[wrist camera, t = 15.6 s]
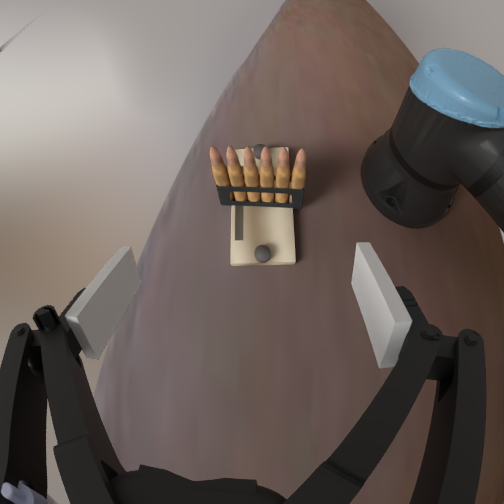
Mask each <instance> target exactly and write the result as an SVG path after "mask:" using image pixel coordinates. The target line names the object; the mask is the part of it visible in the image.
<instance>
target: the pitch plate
mask: <svg viewBox="0 0 504 504" xmlns="http://www.w3.org/2000/svg"><path fill="white" fill-rule="evenodd" d="M264 147H265V145H263V144H258V145H256V146H255V147H254V148H253V149H252V151H253V153H254V156H255V161H256V165H257V167H258V173H259V169H260V162H261V159H260V158H261V153H262V150H263V148H264ZM282 148H283V147H281V148H268V149H269V150H270V153H271V157H272V164H273V168H274V175H276V168H277V163H278V157H279V153H280V151H281V149H282ZM285 148H286V149H287V151H288V147H285ZM244 150H245V149H238V150H235V151H236V153H237V155H238V159H239V162H240V165H241V166H242V169H244ZM288 154H289V153H288ZM243 174H244V170H243ZM259 175H260V173H259ZM244 180H245V179H244ZM259 182H260V180H259ZM275 182H276V180H274V188H275ZM245 185H246V183H245ZM290 186H291V182H290V185H289V189H290ZM260 187H261V186H260ZM295 262H296V260H295V240H294V222H293V208H280V207H259V206H233V205H232V209H231V265H232V266H249V265H284V264H295Z"/></svg>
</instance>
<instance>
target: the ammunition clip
mask: <svg viewBox="0 0 504 504" xmlns="http://www.w3.org/2000/svg"><path fill="white" fill-rule="evenodd" d="M210 159H211V163H212V171H213V174H214V177H215V180H216V183H217V185H216V187H217V191H218V195H219V199H220V203H221V205H233V206H259V207H280V208H299V209H302V206H303V195H304V186H305V181H306V175H307V170H306V163H307V156H306V152H305V150H304V148H302V149H300V150H299V152H298V154H297V156H296V160H295V165H294V168H293V170H292V176H290V173H291V171H290V164H289V154H288V151H287V149H286V148H285V147H283V148H282V149H281V151H280V153H279V157H278V163H277V168H276V175H274V168H273V164H272V157H271V153H270V150H269V149H268V147H266V146H265V147H264V148H263V150H262V153H261V158H260V159H261V162H260V169H259V173H260V175H259V173H258V167H257V165H256V161H255V156H254V153H253V151H252V149H251V148H250V147H249V146H247V147H246V148H245V150H244V169H242V166H241V165H240V162H239V159H238V155H237V153H236V151H235V150H234V148H233V147H232V146H229V147H228V149H227V162H228V171H227V167H226V166H225V164H224V162H223V160H222V157H221V155H220V153H219V151H218V150H217V148H216V147H214V146H211V148H210ZM243 170H244V174H243ZM244 179H245V180H244ZM259 180H260V182H259ZM274 180H276V182H275V188H274ZM290 182H291V186H290V189H289V185H290ZM245 183H246V185H245ZM260 186H261V187H260Z"/></svg>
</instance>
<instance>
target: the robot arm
mask: <svg viewBox="0 0 504 504" xmlns="http://www.w3.org/2000/svg"><path fill="white" fill-rule="evenodd" d="M361 178H362V183H363V186H364V189H365V191H366V194H367V195H368V197H369V199H370V200H371V202H372V203H373V205H374V206H375V207H376V208H377V209H378V210H379V211H380V212H381V213H382V214H383V215H384V216H386V217H387V218H388V219H390V220H391V221H393V222H395V223H397V224H399V225H402V226H405V227H409V228H425V227H429V226H431V225H433V224H435V223H436V222H437V221H439V220H440V219H441V218H442V217H443V216H444V215H445V214H446V213H447V212H448V210H449V209H450V207H451V205H452V202H453V199H454V195H455V194H456V192H457V189H458V186H459V184H460V183H461V184H462V185H463V186H464V187H465V188H466V189H467V190H468V191H469V192H470V193H471V194H472V195H473V197H474V198H475V199H476V200H477V201H478V202H479V203H480V205H481V206H482V207H483V208H484V209H485V210H486V211H487V213H488V214H489V215H490V216H491V217H492V219H493V220H494V221H495V222H496V224H497V225H498V226H499V227H500V229H501V230H502V231H503V232H504V75H502V74H501V73H500V72H499V71H498V70H497V69H495V68H494V67H492V66H491V65H489V64H488V63H486V62H485V61H483V60H481V59H479V58H477V57H475V56H473V55H471V54H469V53H466V52H463V51H458V50H454V49H448V48H441V49H435V50H432V51H430V52H428V53H427V54H426V55H425V56H424V57H423V58H422V60H421V62H420V64H419V66H418V68H417V70H416V72H415V73H414V74H413V75H412V77H411V80H410V85H409V88H408V90H407V92H406V95H405V97H404V99H403V102H402V104H401V106H400V109H399V111H398V113H397V116H396V118H395V120H394V122H393V125H392V127H391V128H390V129H389V130H388V131H387V132H386V133H385V134H384V135H383V136H381V137H379V138H378V139H376V140H375V141H374V142H373V143H372V144H371V145H370V147H369V148H368V150H367V152H366V154H365V157H364V159H363V162H362V166H361ZM351 284H352V287H353V290H354V293H355V295H356V298H357V301H358V304H359V307H360V310H361V313H362V316H363V319H364V322H365V325H366V328H367V331H368V334H369V337H370V340H371V343H372V346H373V350H374V353H375V356H376V359H377V363H378V366H379V368H387V367H394V368H393V370H392V371H391V373H390V375H389V376H388V378H387V380H386V381H385V383H384V384H383V386H382V387H381V389H380V390H379V392H378V393H377V395H376V396H375V398H374V399H373V401H372V402H371V404H370V405H369V407H368V408H367V410H366V411H365V412H364V414H363V415H362V417H361V418H360V419H359V421H358V422H357V423H356V425H355V426H354V427H353V429H352V430H351V431H350V433H349V434H348V435H347V436H346V438H345V439H344V440H343V442H342V443H341V444H340V445H339V446H338V448H337V449H336V450H335V451H334V453H333V454H332V455H331V456H330V457H329V458H328V459H327V460H326V461H324V462H323V463H322V464H321V465H320V466H319V467H318V468H317V469H316V470H315V471H314V472H313V473H312V475H311V476H310V477H309V478H308V479H307V480H306V481H305V482H304V483H303V484H302V485H301V486H300V487H299V488H298V489H297V490H296V491H295V492H294V493H293V494H292V495H291V496H290V497H289V498H288V499H285V498H284V497H283V496H281V495H280V494H278V493H277V492H275V491H273V490H271V489H268V488H265V487H262V486H258V485H257V481H256V480H248V479H232V478H222V479H214V480H205V481H192V480H189V479H186V478H184V477H181V476H179V475H177V474H174V473H172V472H170V471H167V470H164V469H159V468H154V467H149V466H145V465H141V464H140V467H139V470H136V471H129V472H126V471H125V469H124V468H123V467H122V465H121V464H120V462H119V460H118V458H117V456H116V453H115V451H114V449H113V447H112V444H111V442H110V440H109V438H108V435H107V433H106V430H105V428H104V425H103V423H102V420H101V418H100V415H99V412H98V410H97V407H96V404H95V401H94V398H93V395H92V392H91V390H90V386H89V383H88V380H87V377H86V374H85V370H84V367H83V363H82V360H81V358H80V356H79V353H80V352H81V350H82V351H83V352H84V354H85V356H86V357H87V358H92V359H97V360H98V359H99V357H100V356H101V354H102V352H103V350H104V348H105V346H106V345H107V343H108V341H109V339H110V337H111V336H112V334H113V332H114V330H115V328H116V327H117V325H118V323H119V321H120V320H121V318H122V316H123V315H124V313H125V311H126V309H127V308H128V306H129V304H130V303H131V301H132V299H133V298H134V296H135V294H136V293H137V291H138V289H139V288H140V286H141V281H140V278H139V274H138V270H137V267H136V263H135V259H134V256H133V251H132V248H131V247H120V248H119V249H118V251H117V252H116V253H115V254H114V255H113V256H112V258H111V259H110V260H109V261H108V262H107V263H106V265H105V266H104V267H103V268H102V269H101V271H100V272H99V273H98V274H97V275H96V276H95V278H94V279H93V280H92V281H91V283H90V284H89V285H88V286H87V288H84V289H82V290H81V291H79V292H78V293H77V294H76V296H75V297H74V298H73V300H72V301H71V302H70V303H69V305H68V306H67V307H66V308H65V310H64V311H63V312H62V313H61V315H60V316H59V317H58V315H57V313H56V311H55V309H54V307H53V306H51V305H47V306H44V307H41V308H39V309H38V310H37V311H36V312H35V313H34V315H33V320H34V321H35V323H36V325H37V327H38V329H39V330H31V328H30V326H29V325H28V324H27V323H22V324H18V325H17V326H16V327H15V328H14V329H13V330H12V332H11V334H10V337H9V340H8V343H7V346H6V350H5V353H4V357H3V360H2V364H1V368H0V504H48V502H47V500H46V499H47V466H46V415H47V399H48V402H49V407H50V412H51V416H52V421H53V426H54V430H55V434H56V438H57V442H58V445H56V446H54V448H53V449H54V455H55V459H56V462H57V466H58V469H59V472H60V475H61V478H62V481H63V484H64V487H65V490H66V493H67V495H68V498H69V501H70V503H71V504H349V503H350V502H351V501H352V500H353V498H354V497H355V496H356V495H357V493H358V492H359V491H360V489H361V488H362V487H363V485H364V483H365V481H366V480H367V478H368V477H369V476H370V474H371V473H372V471H373V470H374V469H375V467H376V466H377V464H378V463H379V461H380V460H381V458H382V457H383V455H384V454H385V452H386V451H387V449H388V447H389V446H390V444H391V443H392V441H393V439H394V438H395V436H396V434H397V433H398V431H399V429H400V428H401V426H402V424H403V422H404V421H405V419H406V417H407V415H408V413H409V412H410V410H411V408H412V406H413V404H414V402H415V400H416V398H417V396H418V394H419V392H420V390H421V388H422V386H423V384H424V382H425V380H426V379H430V380H437V386H436V394H435V401H434V407H433V413H432V419H431V425H430V430H429V435H428V439H427V444H426V448H425V453H424V457H423V461H422V464H421V468H420V472H419V475H418V479H417V482H416V485H415V489H414V492H413V495H412V498H411V501H410V504H474V503H475V498H476V494H477V489H478V483H479V478H480V471H481V465H482V457H483V448H484V437H485V422H486V369H485V353H484V342H483V339H482V337H481V336H480V334H478V333H477V332H476V331H473V330H471V329H465V330H462V331H461V332H460V333H459V335H458V337H451V336H445V335H442V332H441V331H440V330H439V328H437V327H436V326H434V325H431V324H429V323H428V322H427V320H426V318H425V316H424V314H423V312H422V311H421V309H420V307H419V306H418V303H417V302H416V300H415V298H414V296H413V295H412V293H411V292H410V291H409V290H408V289H407V288H405V287H404V286H401V287H395V286H394V285H393V283H392V281H391V279H390V277H389V276H388V274H387V272H386V270H385V268H384V267H383V265H382V263H381V261H380V260H379V258H378V256H377V254H376V253H375V251H374V249H373V248H372V246H371V244H370V243H369V242H361V243H357V245H356V253H355V260H354V268H353V275H352V282H351ZM398 358H399V360H398ZM397 360H398V361H397ZM396 362H397V363H396Z"/></svg>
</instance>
